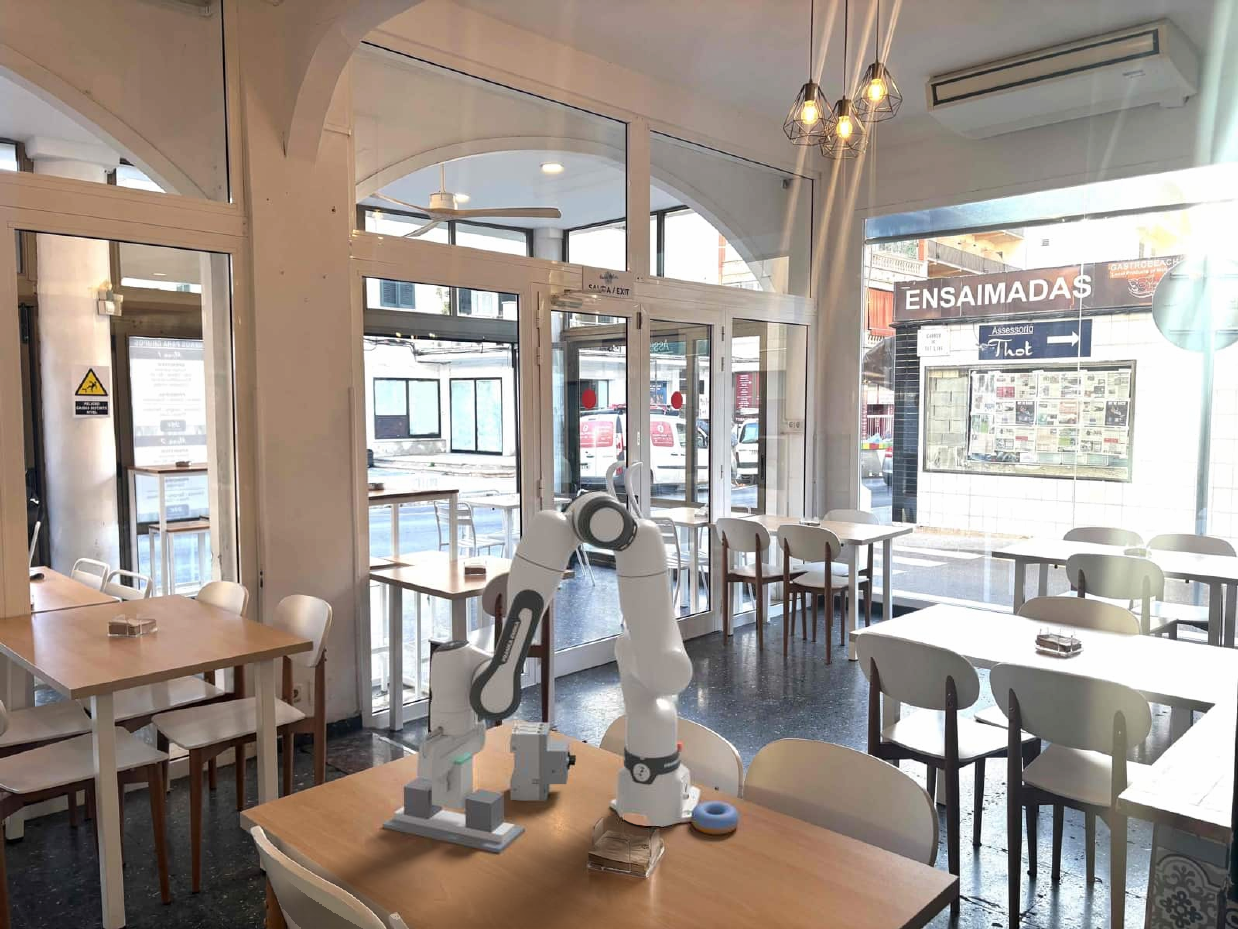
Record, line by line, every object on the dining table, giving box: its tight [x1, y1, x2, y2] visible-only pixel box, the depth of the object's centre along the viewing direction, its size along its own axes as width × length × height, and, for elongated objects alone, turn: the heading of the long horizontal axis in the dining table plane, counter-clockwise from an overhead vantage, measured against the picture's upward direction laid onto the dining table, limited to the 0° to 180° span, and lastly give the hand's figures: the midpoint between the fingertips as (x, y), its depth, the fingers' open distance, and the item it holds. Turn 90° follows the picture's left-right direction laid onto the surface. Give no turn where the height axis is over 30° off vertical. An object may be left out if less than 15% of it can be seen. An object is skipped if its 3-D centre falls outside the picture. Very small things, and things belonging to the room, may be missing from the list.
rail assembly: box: [382, 777, 526, 854], centre depth 184 cm, size 10×28×8 cm, turn 67°
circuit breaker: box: [509, 722, 577, 802], centre depth 201 cm, size 8×14×15 cm, turn 89°
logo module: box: [432, 753, 474, 811], centre depth 183 cm, size 4×7×10 cm, turn 67°
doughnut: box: [690, 800, 740, 836], centre depth 186 cm, size 10×10×5 cm
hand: (452, 786), depth 183 cm, fingers closed on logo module, 4 cm apart
